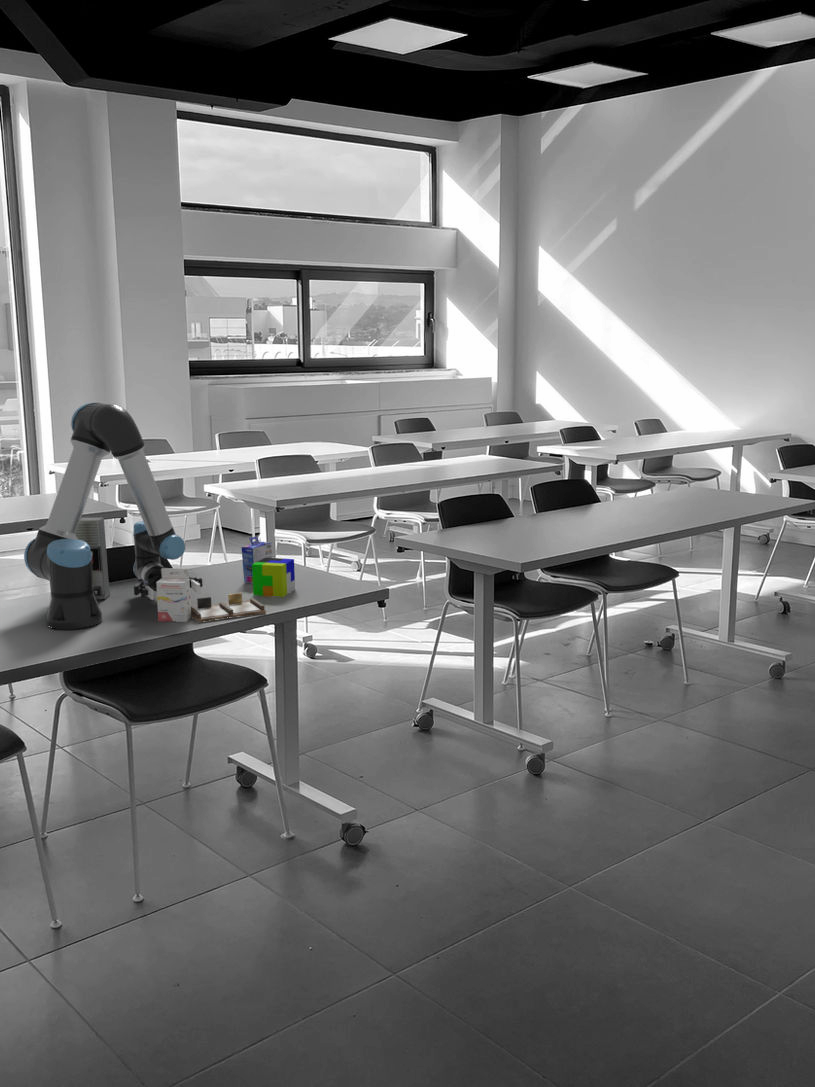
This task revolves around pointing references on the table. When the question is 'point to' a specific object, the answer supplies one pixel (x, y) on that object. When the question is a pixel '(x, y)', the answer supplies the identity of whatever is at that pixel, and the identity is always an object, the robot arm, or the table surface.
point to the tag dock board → (226, 608)
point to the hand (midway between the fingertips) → (176, 592)
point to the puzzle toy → (273, 577)
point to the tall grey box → (96, 553)
